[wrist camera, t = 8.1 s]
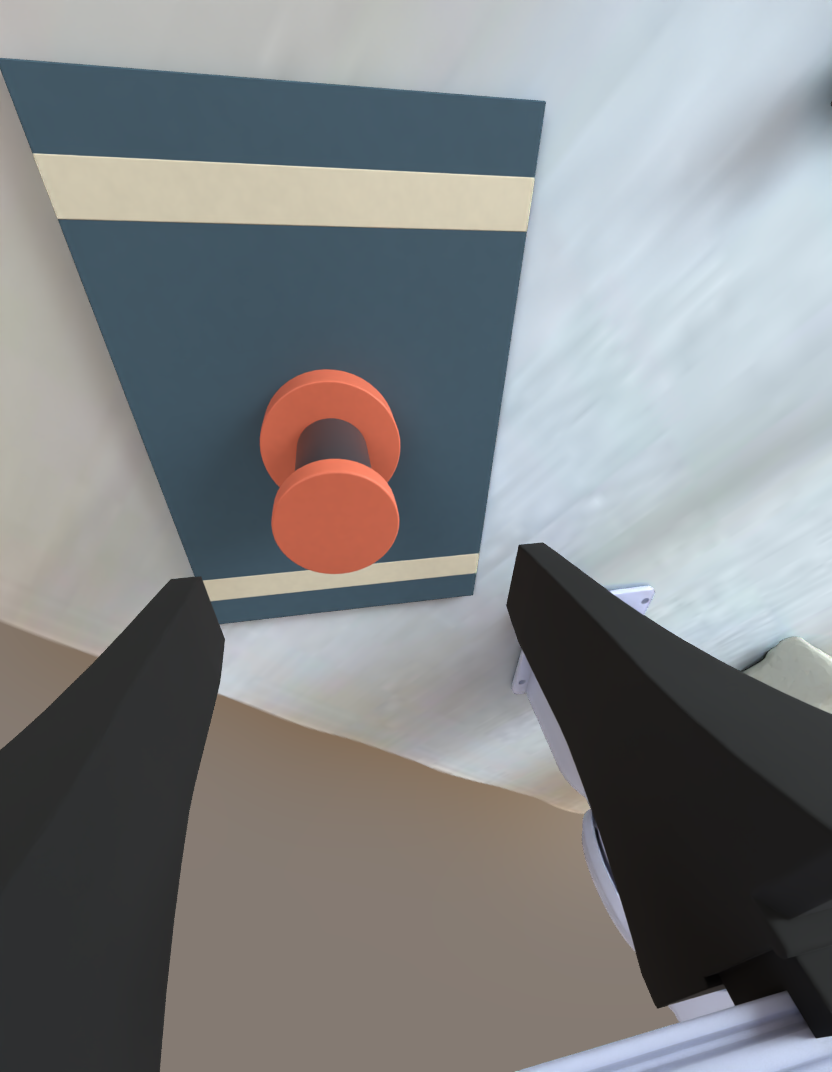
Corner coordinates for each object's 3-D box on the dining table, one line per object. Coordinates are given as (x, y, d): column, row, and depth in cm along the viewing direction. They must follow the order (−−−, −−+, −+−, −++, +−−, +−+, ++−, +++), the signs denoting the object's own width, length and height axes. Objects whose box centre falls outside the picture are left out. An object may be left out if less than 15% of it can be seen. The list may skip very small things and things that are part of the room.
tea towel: (471, 591, 25) (473, 595, 24) (214, 620, 22) (213, 625, 22) (542, 102, 13) (546, 100, 12) (2, 60, 10) (-6, 56, 10)
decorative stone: (790, 718, 41) (818, 820, 33) (695, 666, 43) (701, 751, 35) (900, 652, 34) (966, 762, 27) (781, 594, 36) (811, 681, 29)
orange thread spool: (395, 486, 19) (423, 584, 14) (275, 495, 18) (260, 602, 13) (395, 367, 16) (430, 437, 11) (250, 370, 15) (218, 449, 10)
